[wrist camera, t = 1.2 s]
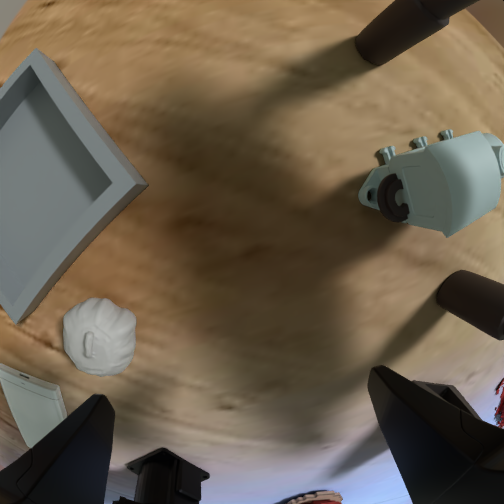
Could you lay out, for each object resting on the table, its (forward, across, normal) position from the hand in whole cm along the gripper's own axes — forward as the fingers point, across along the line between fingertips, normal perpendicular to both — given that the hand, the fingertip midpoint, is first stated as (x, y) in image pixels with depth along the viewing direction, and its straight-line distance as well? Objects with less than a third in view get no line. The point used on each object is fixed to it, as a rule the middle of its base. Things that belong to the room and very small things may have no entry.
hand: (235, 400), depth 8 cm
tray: (+12, +14, -8) cm, 20 cm away
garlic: (+11, +10, +3) cm, 15 cm away
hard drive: (+9, +23, +14) cm, 28 cm away
